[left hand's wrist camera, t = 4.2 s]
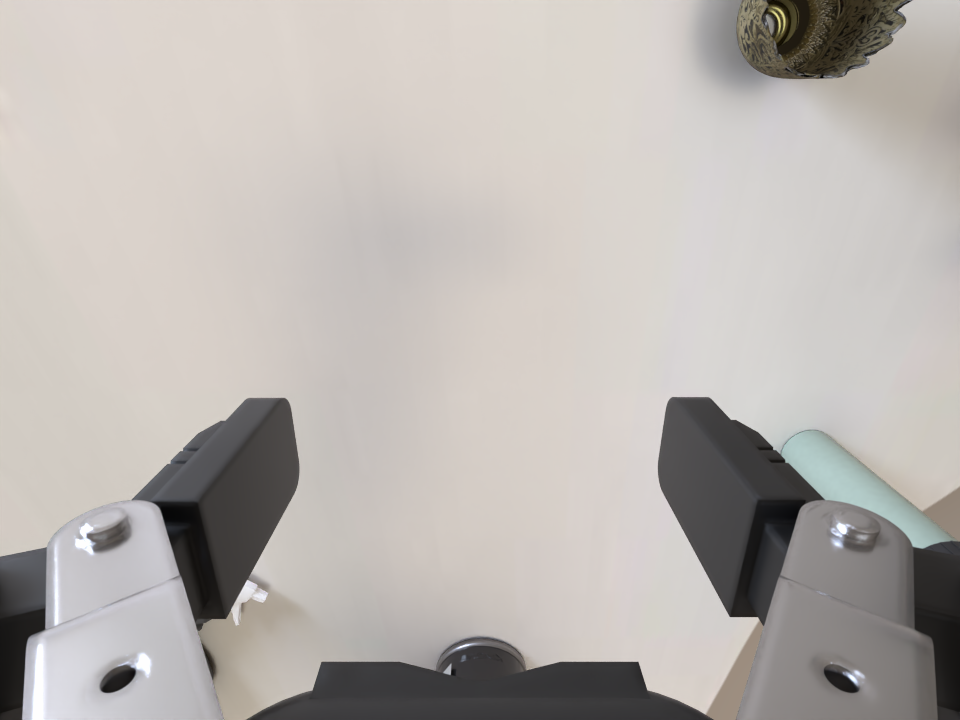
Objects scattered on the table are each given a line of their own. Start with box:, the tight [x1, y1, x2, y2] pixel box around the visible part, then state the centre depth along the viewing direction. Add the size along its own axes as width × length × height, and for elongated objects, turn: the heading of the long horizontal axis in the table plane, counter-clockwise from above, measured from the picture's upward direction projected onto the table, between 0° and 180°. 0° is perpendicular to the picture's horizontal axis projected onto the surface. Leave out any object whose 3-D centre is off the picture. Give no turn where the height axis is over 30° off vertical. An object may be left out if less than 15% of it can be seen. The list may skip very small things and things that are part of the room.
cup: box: [737, 0, 912, 79], centre depth 30 cm, size 8×7×8 cm
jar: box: [781, 430, 959, 549], centre depth 38 cm, size 4×4×15 cm
